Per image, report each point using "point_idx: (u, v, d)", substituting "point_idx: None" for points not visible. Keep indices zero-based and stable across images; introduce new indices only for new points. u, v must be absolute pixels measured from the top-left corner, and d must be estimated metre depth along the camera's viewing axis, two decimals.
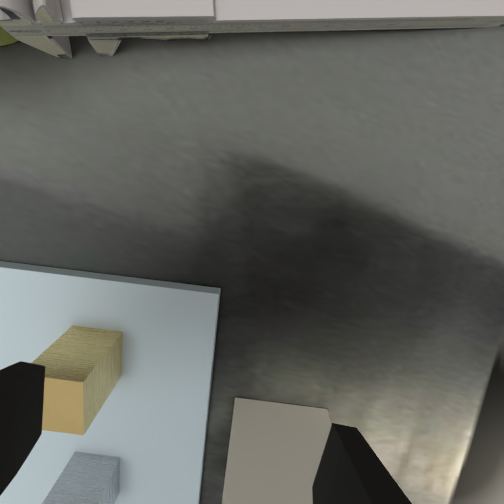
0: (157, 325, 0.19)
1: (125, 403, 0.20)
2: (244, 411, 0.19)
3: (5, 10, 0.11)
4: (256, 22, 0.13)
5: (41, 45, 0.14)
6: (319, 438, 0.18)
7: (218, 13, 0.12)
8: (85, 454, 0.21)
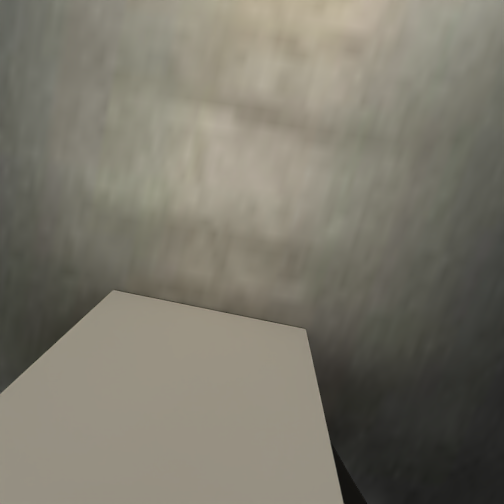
0: None
1: None
2: None
3: None
4: None
5: None
6: None
7: None
8: None
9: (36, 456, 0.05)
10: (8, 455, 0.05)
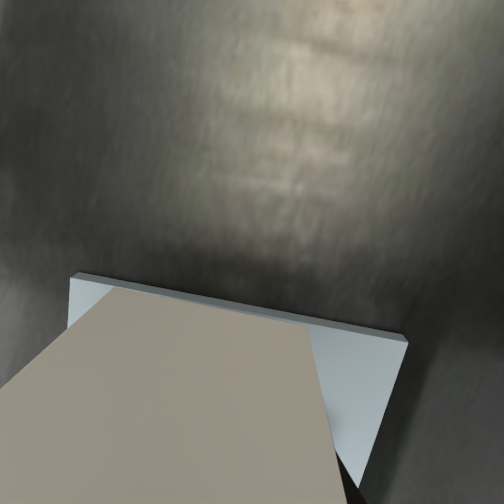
0: None
1: None
2: None
3: None
4: None
5: None
6: None
7: None
8: None
9: (38, 448, 0.05)
10: (10, 447, 0.05)
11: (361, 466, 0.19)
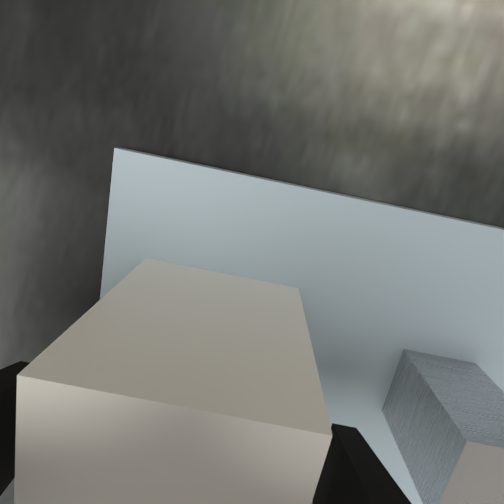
0: (168, 251, 0.12)
1: None
2: None
3: None
4: None
5: None
6: None
7: None
8: (388, 397, 0.13)
9: (119, 343, 0.07)
10: (102, 341, 0.07)
11: None
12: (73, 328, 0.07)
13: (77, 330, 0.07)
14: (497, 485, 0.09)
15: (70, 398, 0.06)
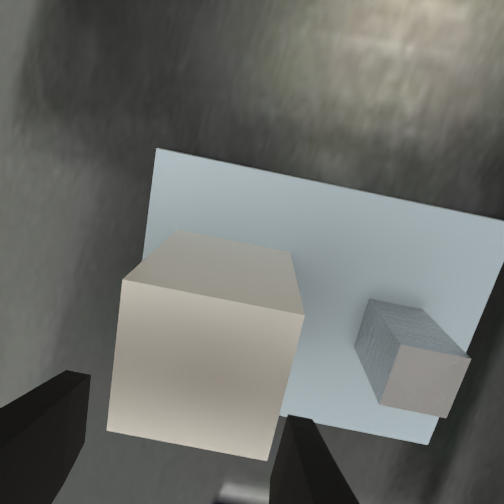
0: (194, 224, 0.16)
1: None
2: None
3: None
4: None
5: None
6: None
7: None
8: (358, 336, 0.18)
9: (174, 271, 0.12)
10: (163, 269, 0.12)
11: None
12: (144, 262, 0.12)
13: (147, 263, 0.12)
14: (422, 376, 0.13)
15: (152, 293, 0.10)
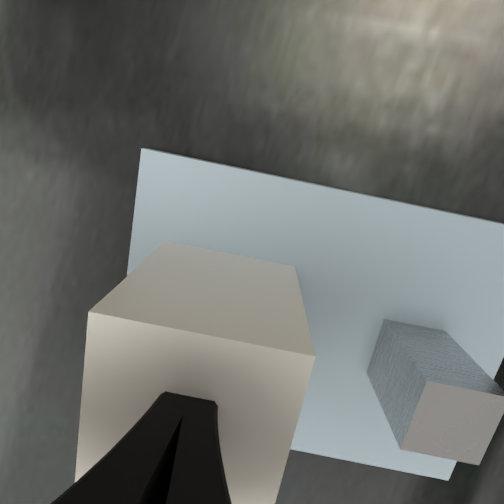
0: (185, 235, 0.14)
1: None
2: None
3: None
4: None
5: None
6: None
7: None
8: (371, 360, 0.15)
9: (155, 296, 0.10)
10: (143, 295, 0.10)
11: None
12: (120, 286, 0.10)
13: (123, 287, 0.10)
14: (452, 417, 0.11)
15: (126, 329, 0.08)
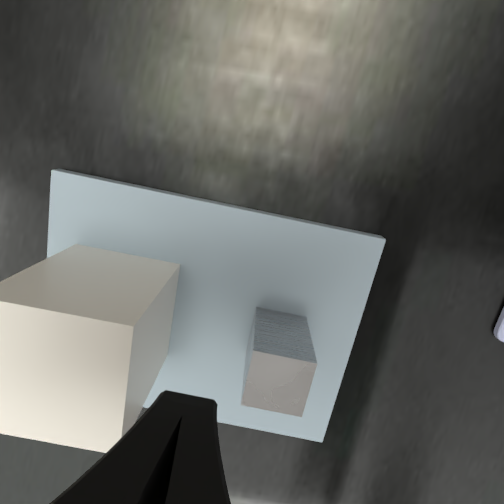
0: (90, 239, 0.18)
1: (185, 288, 0.18)
2: None
3: None
4: None
5: None
6: None
7: None
8: (248, 341, 0.19)
9: (34, 286, 0.13)
10: (24, 285, 0.13)
11: (340, 372, 0.19)
12: (9, 279, 0.13)
13: (11, 279, 0.13)
14: (276, 379, 0.15)
15: (0, 308, 0.12)
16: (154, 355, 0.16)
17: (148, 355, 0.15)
